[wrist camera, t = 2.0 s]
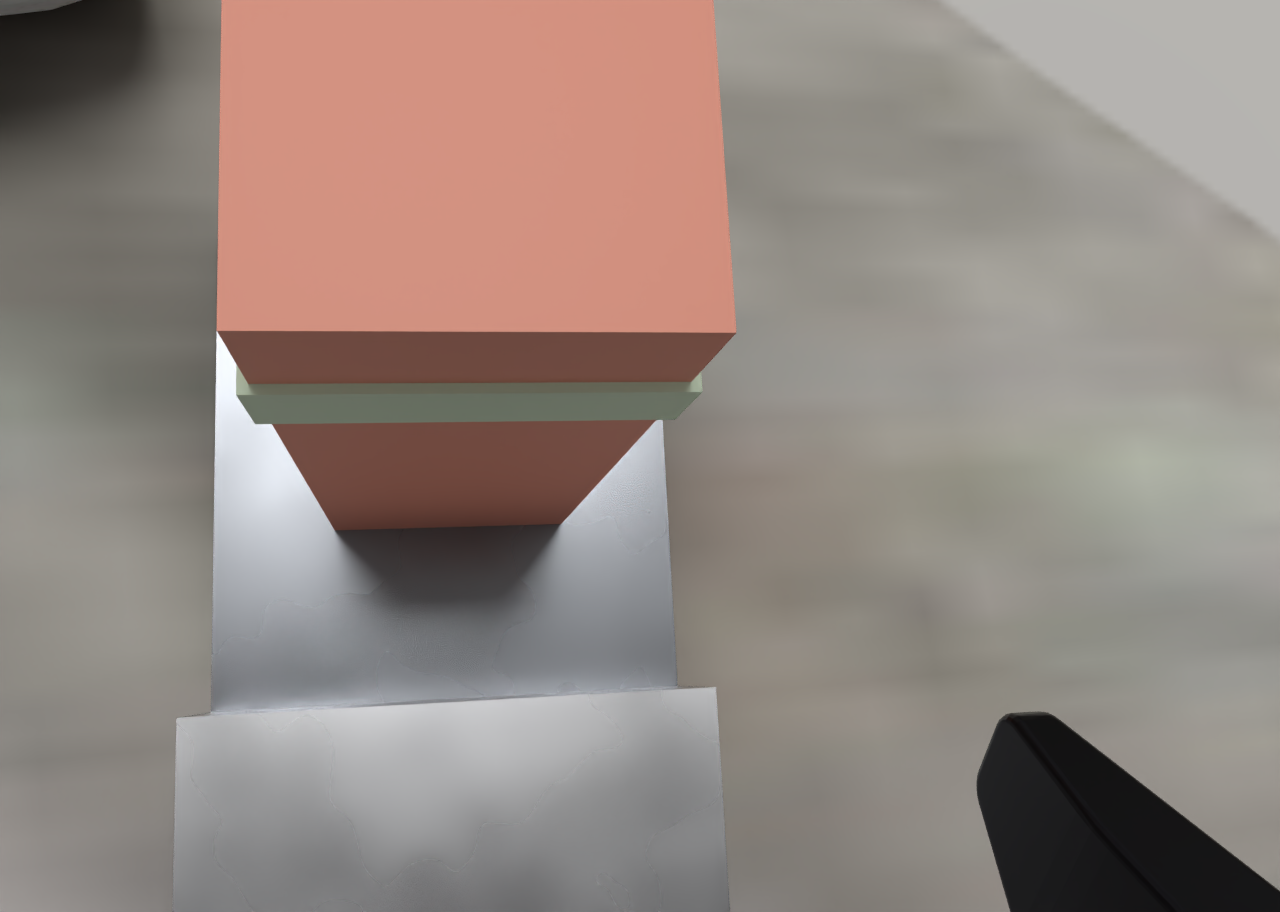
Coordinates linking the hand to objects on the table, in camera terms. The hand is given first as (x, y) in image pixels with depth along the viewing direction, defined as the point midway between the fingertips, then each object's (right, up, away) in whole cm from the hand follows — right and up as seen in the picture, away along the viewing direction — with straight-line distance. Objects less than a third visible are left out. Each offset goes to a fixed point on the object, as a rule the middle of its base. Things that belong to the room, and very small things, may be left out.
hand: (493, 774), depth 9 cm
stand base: (-2, -1, +12) cm, 12 cm away
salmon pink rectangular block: (-2, +3, +11) cm, 12 cm away
